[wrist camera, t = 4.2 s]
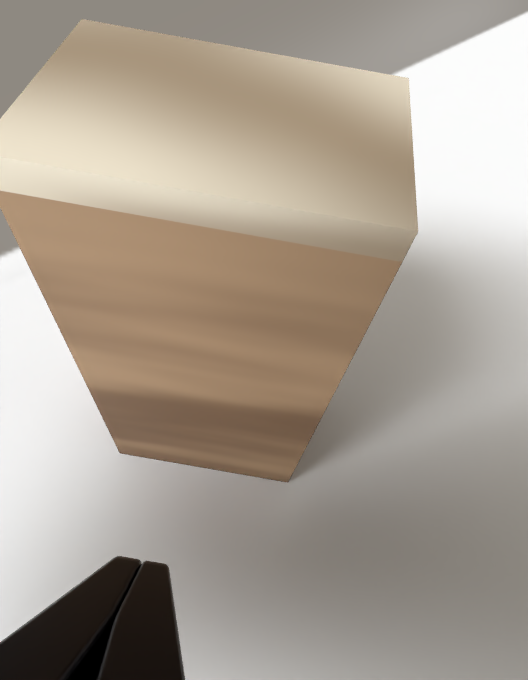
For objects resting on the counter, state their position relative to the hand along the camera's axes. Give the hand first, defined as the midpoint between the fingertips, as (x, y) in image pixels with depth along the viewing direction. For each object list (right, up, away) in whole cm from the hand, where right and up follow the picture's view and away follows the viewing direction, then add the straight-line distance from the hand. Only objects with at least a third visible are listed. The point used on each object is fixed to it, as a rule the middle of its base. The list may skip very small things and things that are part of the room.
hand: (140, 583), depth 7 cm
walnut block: (0, +1, +10) cm, 10 cm away
